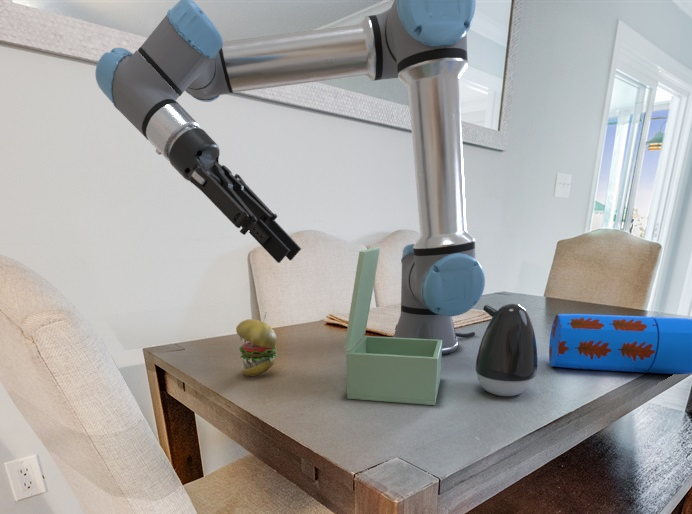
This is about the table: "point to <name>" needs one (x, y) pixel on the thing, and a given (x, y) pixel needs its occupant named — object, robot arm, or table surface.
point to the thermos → (621, 343)
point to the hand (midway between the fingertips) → (289, 255)
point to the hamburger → (257, 346)
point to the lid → (361, 296)
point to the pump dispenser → (507, 352)
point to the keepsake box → (394, 370)
